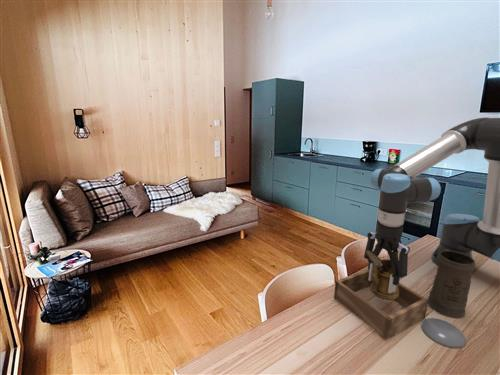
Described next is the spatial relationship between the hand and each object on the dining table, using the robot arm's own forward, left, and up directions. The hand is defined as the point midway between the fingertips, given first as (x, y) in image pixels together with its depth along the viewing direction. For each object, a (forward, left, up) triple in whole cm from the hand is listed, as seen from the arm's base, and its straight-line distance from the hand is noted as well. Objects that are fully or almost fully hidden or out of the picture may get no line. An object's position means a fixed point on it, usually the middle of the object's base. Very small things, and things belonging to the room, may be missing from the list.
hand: (381, 285), depth 92 cm
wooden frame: (0, 0, -9) cm, 9 cm away
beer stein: (-23, +9, -9) cm, 26 cm away
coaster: (-8, +17, -9) cm, 21 cm away
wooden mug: (0, 0, -4) cm, 4 cm away
